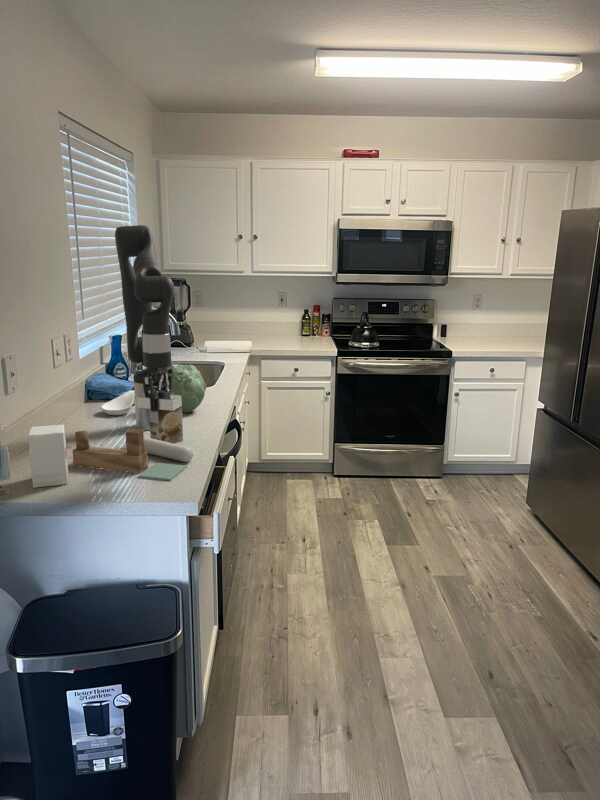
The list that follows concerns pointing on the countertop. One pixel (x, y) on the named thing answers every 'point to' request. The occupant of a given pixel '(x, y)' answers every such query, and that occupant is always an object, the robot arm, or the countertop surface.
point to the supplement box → (48, 455)
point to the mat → (162, 471)
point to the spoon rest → (119, 404)
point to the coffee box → (167, 425)
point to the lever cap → (161, 400)
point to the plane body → (112, 453)
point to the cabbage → (188, 385)
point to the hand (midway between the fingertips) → (159, 408)
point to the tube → (167, 450)
